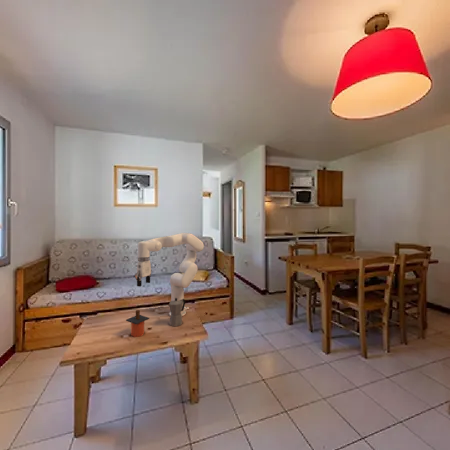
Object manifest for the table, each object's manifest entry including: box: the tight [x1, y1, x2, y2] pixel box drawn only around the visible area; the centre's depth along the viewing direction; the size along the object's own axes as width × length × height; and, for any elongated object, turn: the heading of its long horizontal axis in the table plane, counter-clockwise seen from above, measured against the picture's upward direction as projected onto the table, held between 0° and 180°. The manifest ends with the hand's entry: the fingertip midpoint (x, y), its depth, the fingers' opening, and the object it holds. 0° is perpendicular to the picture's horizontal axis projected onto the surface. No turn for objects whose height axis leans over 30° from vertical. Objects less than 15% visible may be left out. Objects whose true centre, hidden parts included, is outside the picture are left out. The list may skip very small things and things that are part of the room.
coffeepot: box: [168, 298, 186, 327], centre depth 171 cm, size 15×9×18 cm, turn 144°
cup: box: [130, 321, 145, 338], centre depth 154 cm, size 8×8×9 cm
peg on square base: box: [125, 309, 150, 324], centre depth 154 cm, size 10×10×6 cm
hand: (143, 284), depth 166 cm, fingers open, 9 cm apart
